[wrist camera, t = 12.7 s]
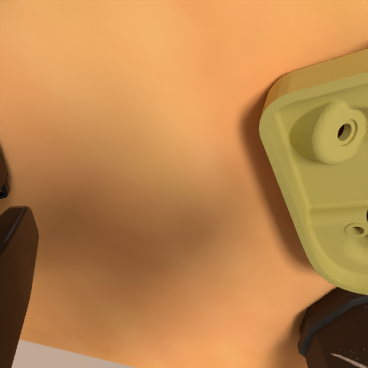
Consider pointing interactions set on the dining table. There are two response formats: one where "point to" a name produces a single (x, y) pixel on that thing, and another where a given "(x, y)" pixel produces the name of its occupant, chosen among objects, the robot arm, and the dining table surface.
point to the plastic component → (324, 162)
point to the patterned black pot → (336, 331)
